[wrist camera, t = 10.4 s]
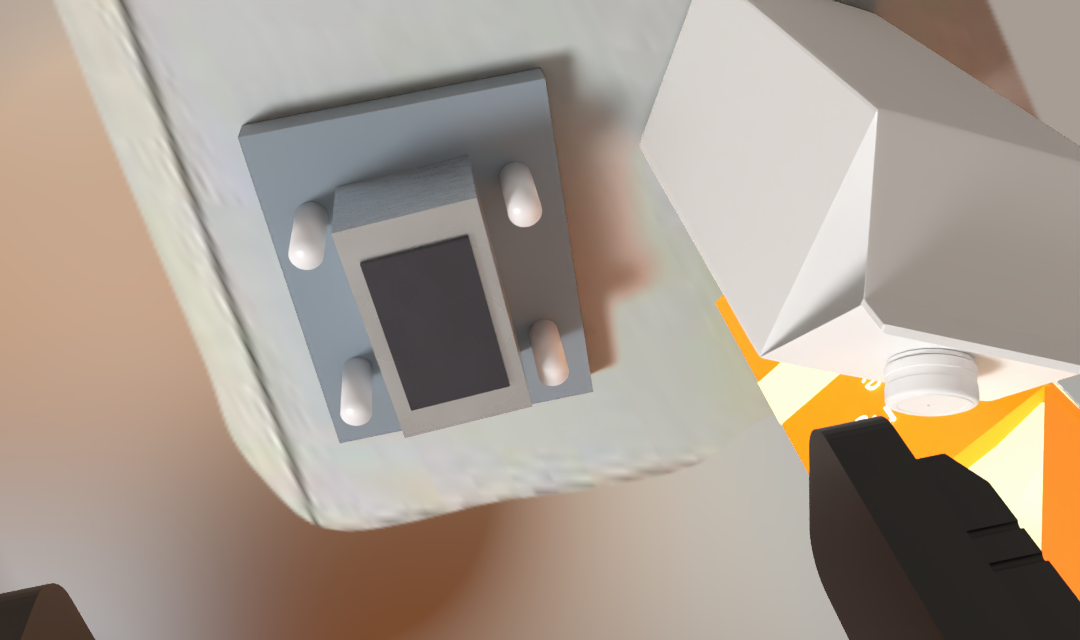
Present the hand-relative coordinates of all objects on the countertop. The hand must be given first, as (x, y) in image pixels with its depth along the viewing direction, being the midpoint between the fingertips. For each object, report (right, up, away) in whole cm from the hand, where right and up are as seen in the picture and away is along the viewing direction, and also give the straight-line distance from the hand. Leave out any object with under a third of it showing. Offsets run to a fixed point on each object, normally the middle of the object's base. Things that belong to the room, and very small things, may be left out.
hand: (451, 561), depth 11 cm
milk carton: (+9, +12, +28) cm, 31 cm away
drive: (-3, +4, +29) cm, 29 cm away
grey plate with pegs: (-3, +5, +30) cm, 30 cm away
